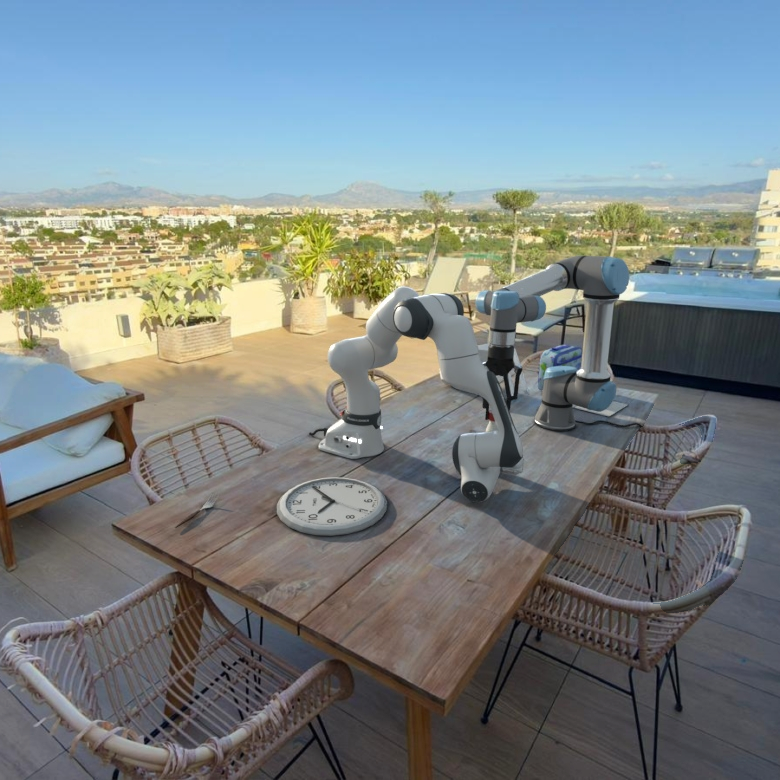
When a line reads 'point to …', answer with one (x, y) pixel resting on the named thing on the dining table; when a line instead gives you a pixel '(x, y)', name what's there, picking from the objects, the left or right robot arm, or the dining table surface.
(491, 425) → the bottle
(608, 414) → the invitation card
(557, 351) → the lunch box
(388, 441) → the dining table surface
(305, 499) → the wall clock
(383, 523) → the dining table surface
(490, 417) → the cap
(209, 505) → the fork
